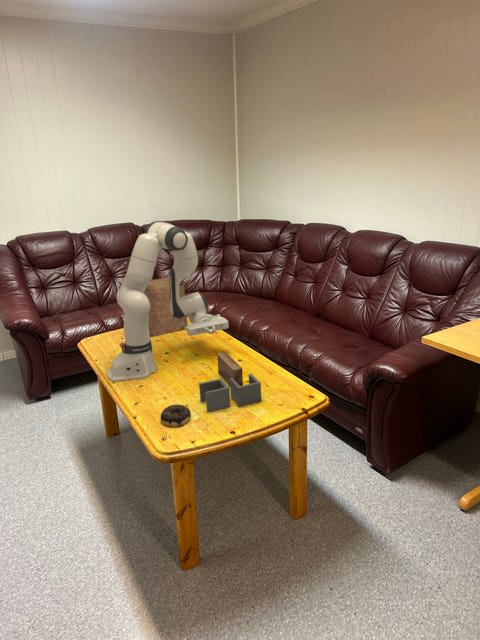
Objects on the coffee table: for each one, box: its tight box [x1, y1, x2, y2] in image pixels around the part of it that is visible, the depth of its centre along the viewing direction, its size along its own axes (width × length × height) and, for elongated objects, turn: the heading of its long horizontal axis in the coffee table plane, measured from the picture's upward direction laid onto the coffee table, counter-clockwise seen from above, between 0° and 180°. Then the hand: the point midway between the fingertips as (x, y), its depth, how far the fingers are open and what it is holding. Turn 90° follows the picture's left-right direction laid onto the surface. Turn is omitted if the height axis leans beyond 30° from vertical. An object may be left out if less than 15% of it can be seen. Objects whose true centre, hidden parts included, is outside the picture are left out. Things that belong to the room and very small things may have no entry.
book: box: [144, 276, 189, 338], centre depth 257 cm, size 25×9×30 cm, turn 120°
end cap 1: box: [198, 378, 231, 413], centre depth 177 cm, size 9×9×8 cm
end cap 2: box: [229, 373, 262, 407], centre depth 179 cm, size 9×9×8 cm
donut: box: [160, 404, 192, 427], centre depth 168 cm, size 11×12×4 cm
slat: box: [216, 351, 244, 387], centre depth 195 cm, size 4×20×10 cm, turn 22°
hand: (212, 331), depth 211 cm, fingers closed
